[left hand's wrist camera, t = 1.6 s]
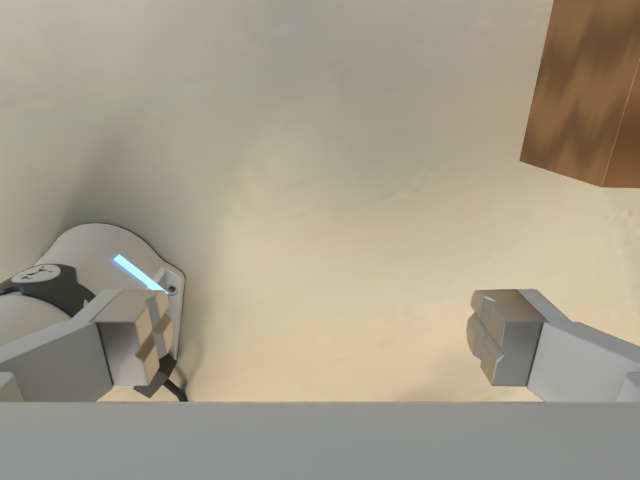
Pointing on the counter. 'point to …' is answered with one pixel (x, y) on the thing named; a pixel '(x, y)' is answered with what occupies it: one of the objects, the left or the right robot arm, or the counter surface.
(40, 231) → the counter surface
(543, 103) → the box
